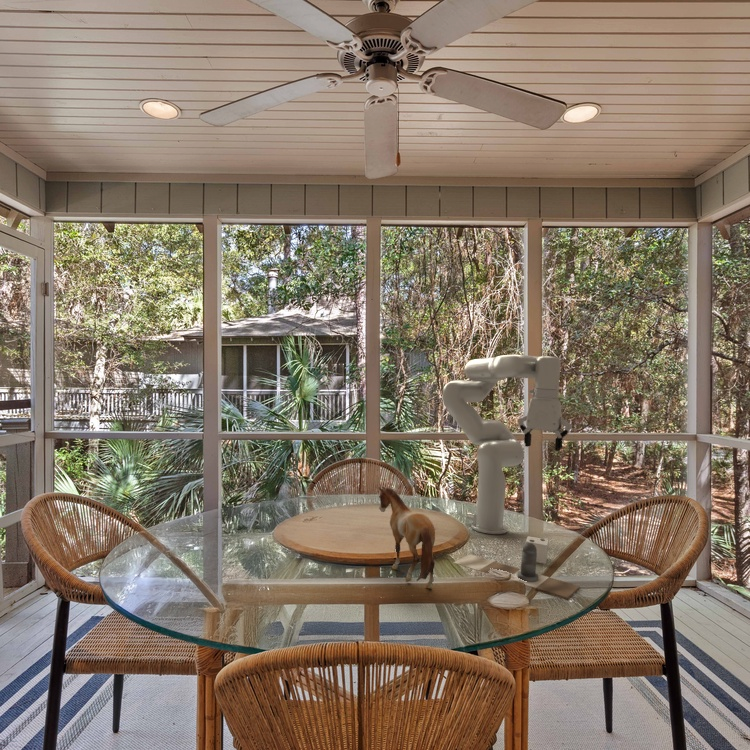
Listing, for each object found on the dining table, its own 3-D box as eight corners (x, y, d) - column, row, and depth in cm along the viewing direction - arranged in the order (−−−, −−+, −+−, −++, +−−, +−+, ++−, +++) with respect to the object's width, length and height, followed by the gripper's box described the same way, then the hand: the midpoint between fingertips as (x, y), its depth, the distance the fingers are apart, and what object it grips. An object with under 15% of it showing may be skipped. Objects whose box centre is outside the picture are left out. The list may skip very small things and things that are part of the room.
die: (524, 561, 154) (525, 541, 154) (526, 555, 160) (527, 535, 160) (545, 565, 152) (547, 544, 152) (547, 559, 157) (548, 539, 157)
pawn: (514, 577, 139) (516, 542, 139) (521, 572, 144) (524, 538, 144) (533, 583, 136) (536, 547, 136) (541, 578, 140) (543, 543, 140)
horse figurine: (372, 556, 151) (377, 485, 151) (397, 554, 153) (402, 484, 153) (418, 602, 122) (423, 514, 121) (447, 599, 124) (453, 513, 124)
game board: (452, 564, 148) (453, 562, 148) (469, 556, 156) (469, 554, 156) (567, 600, 128) (567, 597, 128) (579, 588, 136) (579, 585, 136)
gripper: (515, 392, 169) (512, 445, 169) (569, 397, 159) (566, 453, 159) (524, 393, 175) (520, 443, 175) (577, 397, 164) (573, 451, 165)
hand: (542, 448), depth 167 cm, fingers open, 9 cm apart
